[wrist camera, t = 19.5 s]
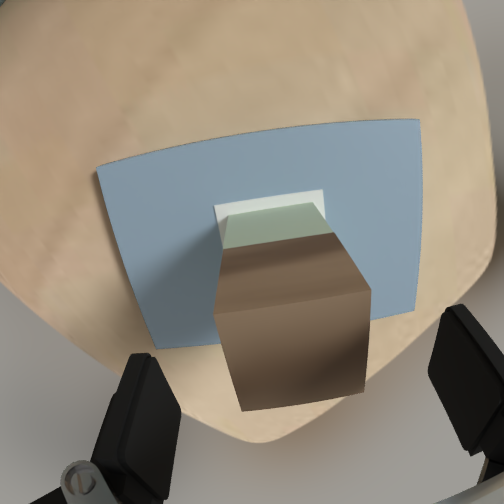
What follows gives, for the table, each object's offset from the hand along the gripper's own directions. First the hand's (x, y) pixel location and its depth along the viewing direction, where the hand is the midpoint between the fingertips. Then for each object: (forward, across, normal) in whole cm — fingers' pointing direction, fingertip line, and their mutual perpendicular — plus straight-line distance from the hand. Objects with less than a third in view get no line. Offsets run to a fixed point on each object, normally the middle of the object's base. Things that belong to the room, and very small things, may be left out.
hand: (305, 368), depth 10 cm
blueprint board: (+12, 0, +1) cm, 12 cm away
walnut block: (+6, 0, +1) cm, 6 cm away
